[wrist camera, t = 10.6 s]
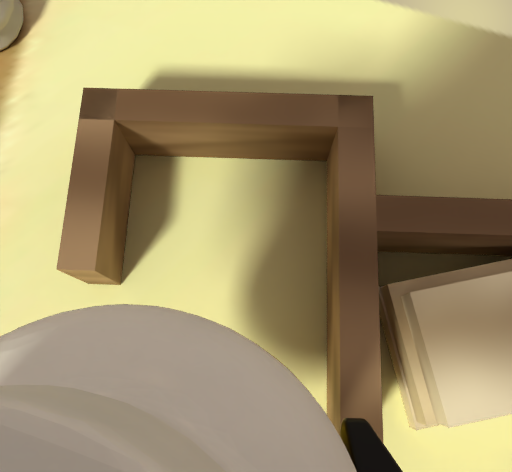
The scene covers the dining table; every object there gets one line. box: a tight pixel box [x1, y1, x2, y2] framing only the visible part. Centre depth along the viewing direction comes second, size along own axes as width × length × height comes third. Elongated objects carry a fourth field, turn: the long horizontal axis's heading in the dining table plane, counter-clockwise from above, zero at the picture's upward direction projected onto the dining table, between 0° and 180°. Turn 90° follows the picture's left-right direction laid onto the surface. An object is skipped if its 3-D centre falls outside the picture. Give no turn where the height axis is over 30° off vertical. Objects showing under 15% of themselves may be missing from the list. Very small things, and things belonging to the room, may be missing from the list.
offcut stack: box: [379, 259, 512, 430], centre depth 19 cm, size 6×7×4 cm
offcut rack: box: [57, 88, 512, 442], centre depth 20 cm, size 14×24×4 cm, turn 88°
